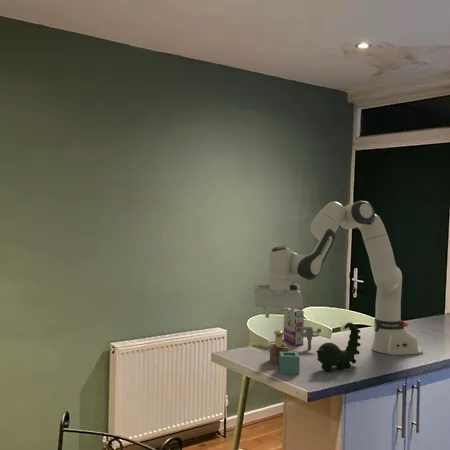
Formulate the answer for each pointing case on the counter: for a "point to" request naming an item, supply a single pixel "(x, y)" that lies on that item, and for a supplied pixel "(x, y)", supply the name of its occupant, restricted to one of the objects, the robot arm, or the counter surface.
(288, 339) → the candy bar box
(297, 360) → the socket block
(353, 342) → the toy figurine
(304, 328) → the mechanical component
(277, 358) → the pin mount
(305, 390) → the counter surface
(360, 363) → the counter surface
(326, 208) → the robot arm
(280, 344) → the lock pin
